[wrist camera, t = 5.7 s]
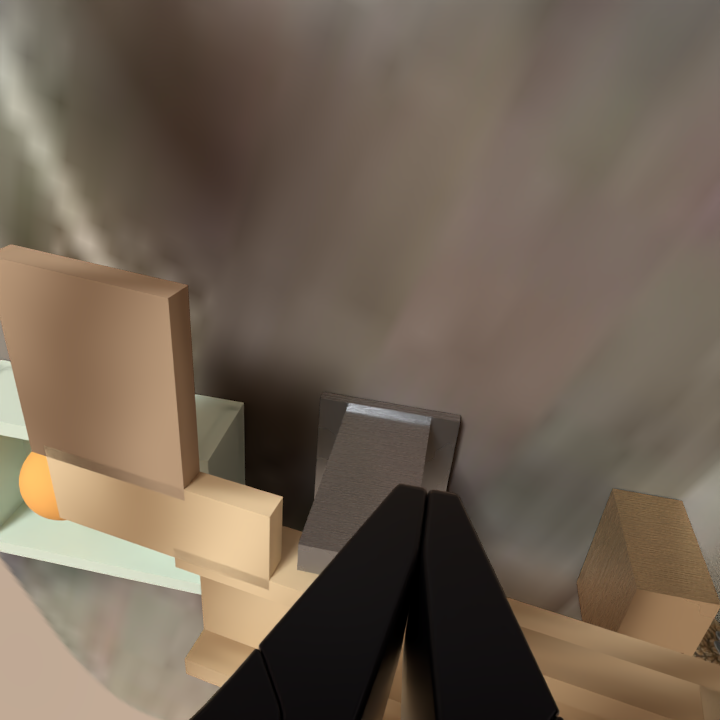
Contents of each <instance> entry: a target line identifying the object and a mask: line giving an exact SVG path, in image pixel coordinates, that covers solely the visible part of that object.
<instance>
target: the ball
mask: <svg viewBox="0 0 720 720" xmlns="http://www.w3.org/2000/svg"><path fill="white" fill-rule="evenodd" d="M19 488H20V493H21V496H22V498H23V500H24V502H25V503H26V504H27V506H28V507H29V508H30V509H31V510H32V511H34V512H35V513H36V514H38V515H40V516H42V517H44V518H47V519H51V520H62V521H64V520H66V519H63V518H60V516H59V511H58V507H57V502H56V498H55V493H54V489H53V485H52V480H51V476H50V471H49V467H48V462H47V458H46V456H44V455H41V454H37V453H34V452H31V453H30V454H29V455H28V457H27V458H26V460H25V461H24V463H23V465H22V468H21V471H20V475H19Z"/></svg>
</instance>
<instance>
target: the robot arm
mask: <svg viewBox="0 0 720 720" xmlns="http://www.w3.org/2000/svg"><path fill="white" fill-rule="evenodd" d="M405 628H406V630H405ZM404 634H405V638H404ZM403 639H404V647H403V662H402V693H401V720H564V719H563V718H562V717H558V716H559V714H560V711H559V709H558V706H557V704H556V702H555V700H554V698H553V696H552V694H551V692H550V689H549V687H548V685H547V683H546V681H545V679H544V677H543V674H542V672H541V670H540V668H539V666H538V664H537V662H536V659H535V657H534V655H533V653H532V651H531V649H530V647H529V644H528V642H527V640H526V638H525V636H524V634H523V632H522V630H521V627H520V625H519V623H518V621H517V619H516V617H515V615H514V612H513V610H512V608H511V606H510V604H509V602H508V600H507V597H506V595H505V593H504V591H503V589H502V587H501V585H500V582H499V580H498V578H497V576H496V574H495V572H494V570H493V567H492V565H491V563H490V561H489V559H488V557H487V555H486V553H485V550H484V548H483V546H482V544H481V542H480V540H479V538H478V535H477V533H476V531H475V529H474V527H473V525H472V523H471V520H470V518H469V516H468V514H467V512H466V510H465V508H464V505H463V503H462V501H461V499H460V497H459V496H458V495H457V494H455V493H451V492H446V491H440V490H435V489H432V490H430V491H429V492H428V494H427V490H426V489H425V488H423V487H419V486H414V485H408V484H402V483H401V484H398V485H397V486H396V487H395V488H394V489H393V490H392V491H391V492H390V493H389V495H388V496H387V497H386V498H385V499H384V500H383V502H382V503H381V504H380V505H379V506H378V507H377V508H376V510H375V511H374V512H373V513H372V514H371V515H370V517H369V518H368V519H367V520H366V521H365V522H364V524H363V525H362V526H361V527H360V528H359V529H358V530H357V532H356V533H355V534H354V535H353V536H352V537H351V539H350V540H349V541H348V542H347V543H346V544H345V545H344V547H343V548H342V549H341V550H340V551H339V552H338V554H337V555H336V556H335V557H334V558H333V559H332V561H331V562H330V563H329V564H328V565H327V566H326V567H325V569H324V570H323V571H322V572H321V573H320V574H319V576H318V577H317V578H316V579H315V580H314V581H313V583H312V584H311V585H310V586H309V587H308V588H307V589H306V591H305V592H304V593H303V594H302V595H301V596H300V598H299V599H298V600H297V601H296V602H295V603H294V604H293V606H292V607H291V608H290V609H289V610H288V611H287V613H286V614H285V615H284V616H283V617H282V618H281V620H280V621H279V622H278V623H277V624H276V625H275V626H274V628H273V629H272V630H271V631H270V632H269V633H268V635H267V636H266V637H265V638H264V639H263V640H262V641H261V643H260V644H259V649H254V650H253V651H252V653H251V654H250V655H249V656H248V657H247V658H246V660H245V661H244V662H243V663H242V664H241V665H240V666H239V668H238V669H237V670H236V671H235V672H234V673H233V674H232V676H231V677H230V678H229V679H228V680H227V681H226V682H225V683H224V684H223V685H222V686H221V687H220V689H219V690H218V691H217V692H216V693H215V694H214V695H213V696H212V697H211V698H210V699H209V700H208V702H207V703H206V704H205V705H204V706H203V707H202V708H201V709H200V710H199V711H198V712H197V713H196V714H195V715H194V716H193V717H192V718H190V719H189V720H382V719H383V716H384V712H385V709H386V705H387V702H388V698H389V694H390V691H391V687H392V684H393V680H394V677H395V673H396V669H397V666H398V662H399V658H400V654H401V650H402V645H403Z"/></svg>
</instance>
